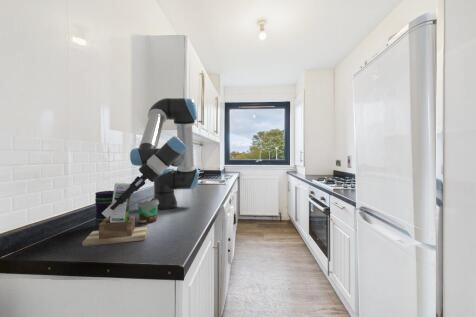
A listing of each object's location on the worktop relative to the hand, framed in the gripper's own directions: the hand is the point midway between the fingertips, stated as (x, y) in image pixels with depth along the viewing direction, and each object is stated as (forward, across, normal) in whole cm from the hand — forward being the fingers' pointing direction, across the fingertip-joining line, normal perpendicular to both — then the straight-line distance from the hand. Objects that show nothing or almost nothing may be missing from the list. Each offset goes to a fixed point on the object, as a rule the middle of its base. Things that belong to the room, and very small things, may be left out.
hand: (107, 213), depth 90 cm
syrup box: (0, 0, -5) cm, 5 cm away
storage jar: (+9, +19, -4) cm, 22 cm away
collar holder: (+4, 0, -9) cm, 10 cm away
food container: (-4, +20, -17) cm, 27 cm away
